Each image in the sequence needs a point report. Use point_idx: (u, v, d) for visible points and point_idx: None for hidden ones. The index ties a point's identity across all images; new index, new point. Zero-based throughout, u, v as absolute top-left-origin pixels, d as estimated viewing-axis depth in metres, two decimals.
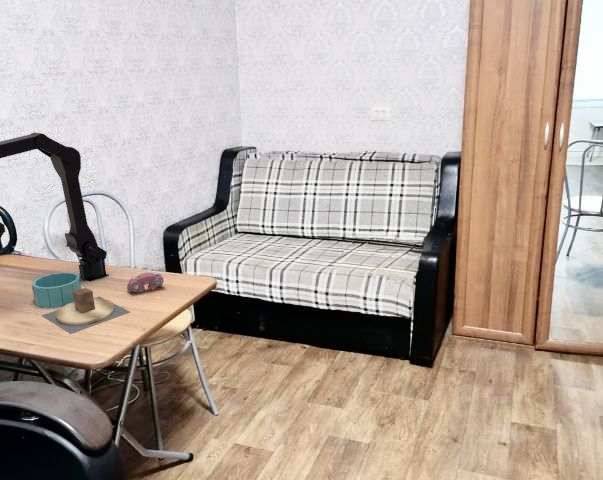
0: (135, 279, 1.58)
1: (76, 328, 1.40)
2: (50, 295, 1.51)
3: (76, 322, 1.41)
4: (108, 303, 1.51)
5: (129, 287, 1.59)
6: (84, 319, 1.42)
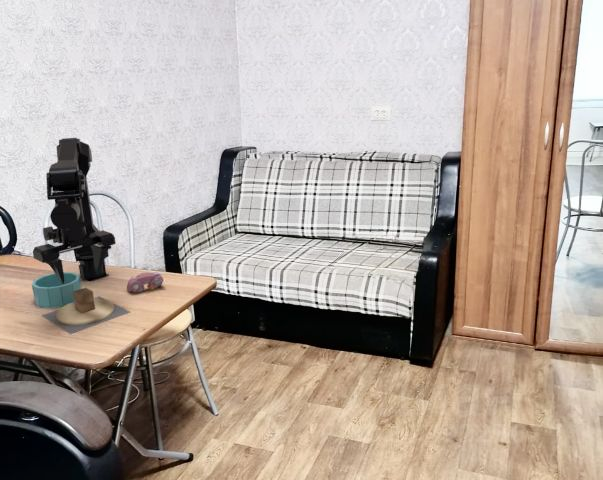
0: (135, 279, 1.58)
1: (76, 328, 1.40)
2: (50, 295, 1.51)
3: (76, 322, 1.41)
4: (108, 303, 1.51)
5: (129, 287, 1.59)
6: (84, 319, 1.42)
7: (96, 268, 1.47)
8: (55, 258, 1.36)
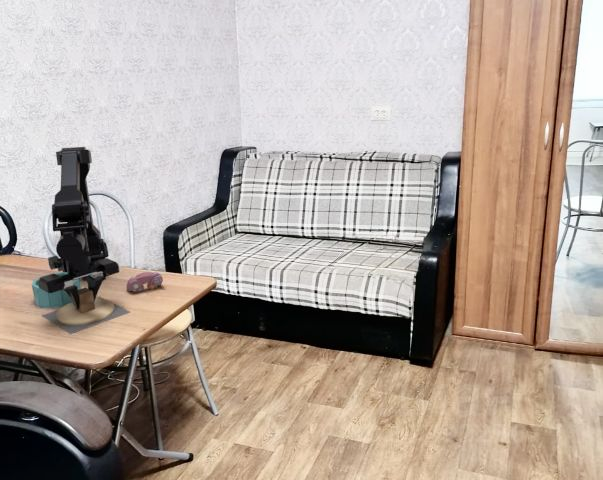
0: (134, 278, 1.59)
1: (76, 328, 1.40)
2: (50, 295, 1.51)
3: (76, 322, 1.41)
4: (108, 303, 1.51)
5: (128, 286, 1.59)
6: (84, 318, 1.42)
7: None
8: (60, 288, 1.39)
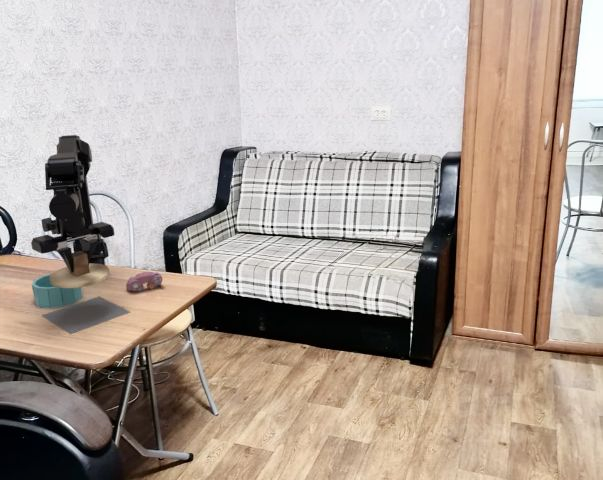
0: (134, 278, 1.59)
1: (76, 328, 1.40)
2: (50, 295, 1.51)
3: (70, 284, 1.38)
4: (103, 267, 1.48)
5: (128, 286, 1.60)
6: (78, 281, 1.39)
7: None
8: (54, 249, 1.36)
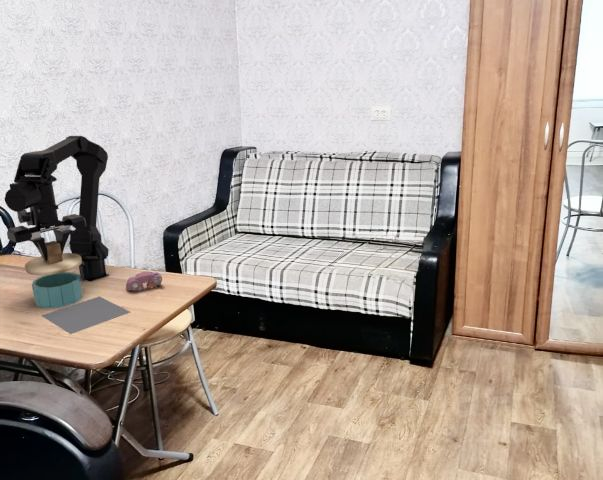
0: (134, 278, 1.59)
1: (76, 328, 1.40)
2: (50, 295, 1.51)
3: (43, 271, 1.48)
4: (76, 256, 1.58)
5: (128, 286, 1.60)
6: (51, 268, 1.49)
7: None
8: (28, 239, 1.46)
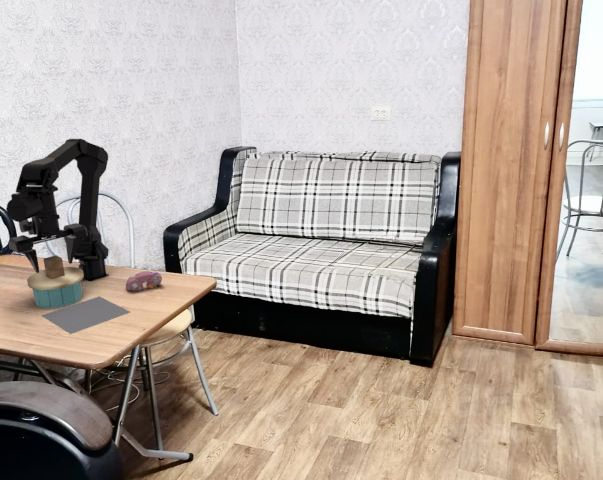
0: (134, 277, 1.59)
1: (76, 328, 1.40)
2: (50, 295, 1.51)
3: (45, 286, 1.49)
4: (78, 270, 1.59)
5: (128, 285, 1.60)
6: (53, 283, 1.50)
7: (69, 258, 1.57)
8: (29, 248, 1.46)
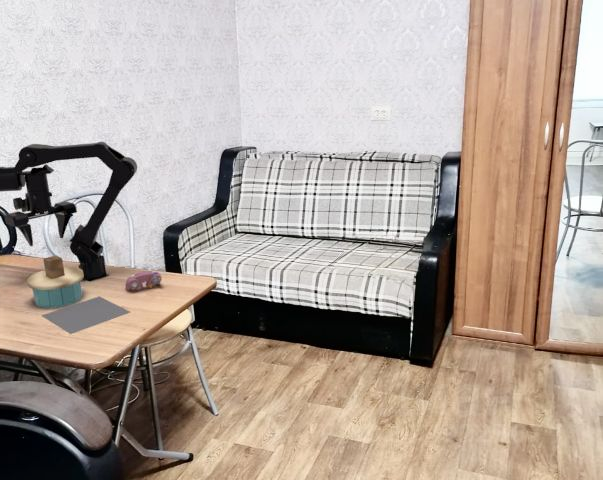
0: (133, 277, 1.60)
1: (76, 328, 1.40)
2: (50, 295, 1.51)
3: (45, 286, 1.49)
4: (78, 270, 1.59)
5: (127, 285, 1.60)
6: (53, 283, 1.50)
7: (60, 233, 1.72)
8: (25, 223, 1.60)
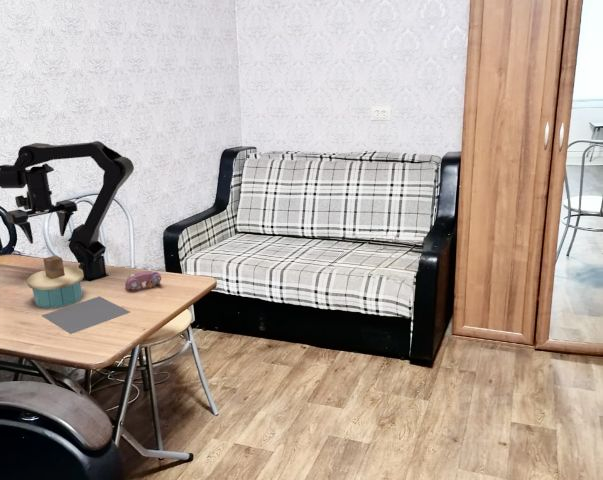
0: (133, 277, 1.60)
1: (76, 328, 1.40)
2: (50, 295, 1.51)
3: (45, 286, 1.49)
4: (78, 270, 1.59)
5: (127, 285, 1.61)
6: (53, 283, 1.50)
7: (61, 231, 1.74)
8: (24, 220, 1.63)
